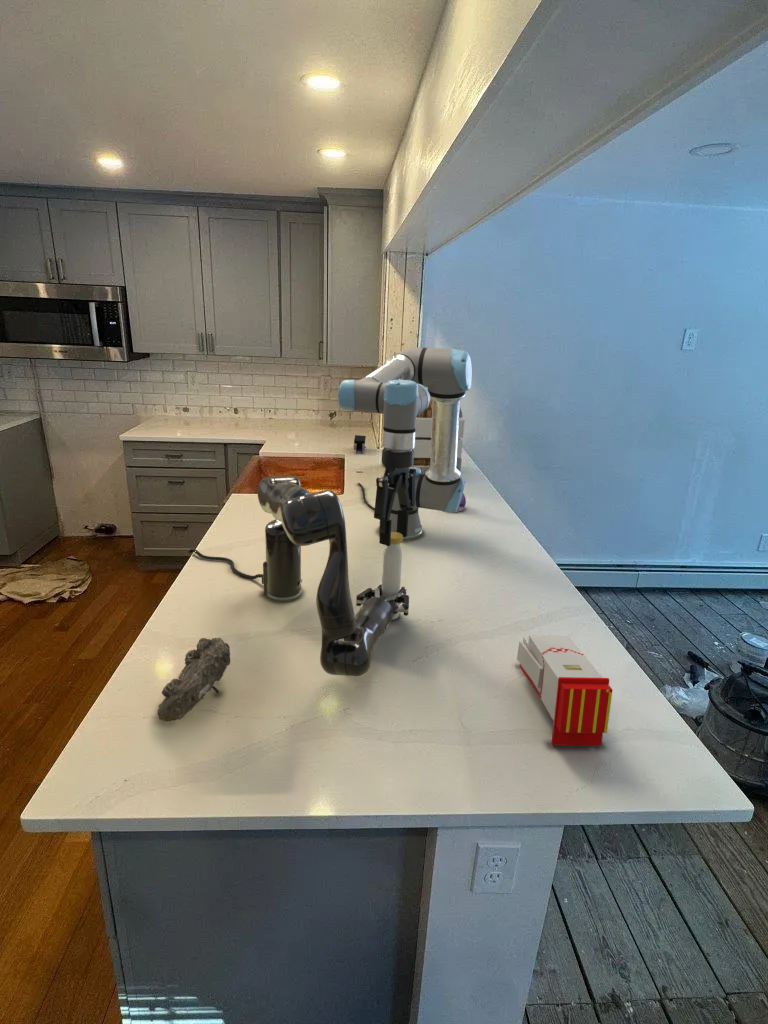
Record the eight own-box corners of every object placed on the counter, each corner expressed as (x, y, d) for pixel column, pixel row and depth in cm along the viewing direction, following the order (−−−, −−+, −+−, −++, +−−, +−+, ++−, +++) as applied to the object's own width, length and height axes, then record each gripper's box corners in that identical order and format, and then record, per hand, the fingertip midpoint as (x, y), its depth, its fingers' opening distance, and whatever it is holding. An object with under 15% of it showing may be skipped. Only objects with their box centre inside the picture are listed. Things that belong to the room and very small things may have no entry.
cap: (401, 537, 142) (401, 531, 142) (403, 544, 138) (403, 538, 137) (383, 537, 142) (383, 531, 141) (385, 544, 137) (385, 538, 137)
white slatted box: (382, 463, 289) (386, 382, 275) (445, 464, 293) (451, 384, 279) (390, 482, 257) (394, 392, 243) (460, 483, 261) (468, 394, 247)
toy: (564, 619, 129) (622, 685, 100) (558, 672, 132) (613, 753, 103) (511, 618, 129) (554, 684, 100) (507, 672, 132) (547, 752, 102)
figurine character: (365, 456, 306) (365, 447, 319) (365, 443, 302) (366, 434, 316) (353, 456, 306) (353, 446, 319) (353, 442, 302) (354, 433, 316)
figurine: (452, 514, 221) (455, 477, 216) (438, 506, 229) (441, 470, 224) (472, 511, 225) (475, 475, 220) (457, 503, 234) (460, 468, 229)
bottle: (385, 609, 150) (389, 532, 142) (401, 613, 148) (406, 536, 140) (377, 616, 146) (380, 538, 138) (393, 621, 144) (398, 542, 137)
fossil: (183, 640, 124) (231, 608, 119) (213, 669, 127) (261, 639, 122) (134, 715, 105) (189, 682, 100) (171, 748, 108) (227, 717, 103)
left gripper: (402, 611, 128) (421, 580, 144) (343, 599, 132) (368, 570, 148) (400, 640, 131) (419, 606, 146) (343, 627, 135) (367, 595, 150)
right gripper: (407, 439, 141) (402, 525, 149) (359, 453, 126) (356, 547, 134) (433, 444, 137) (427, 532, 145) (387, 459, 122) (382, 556, 130)
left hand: (393, 588), depth 147 cm, fingers closed on bottle, 4 cm apart
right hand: (393, 539), depth 140 cm, fingers open, 7 cm apart
